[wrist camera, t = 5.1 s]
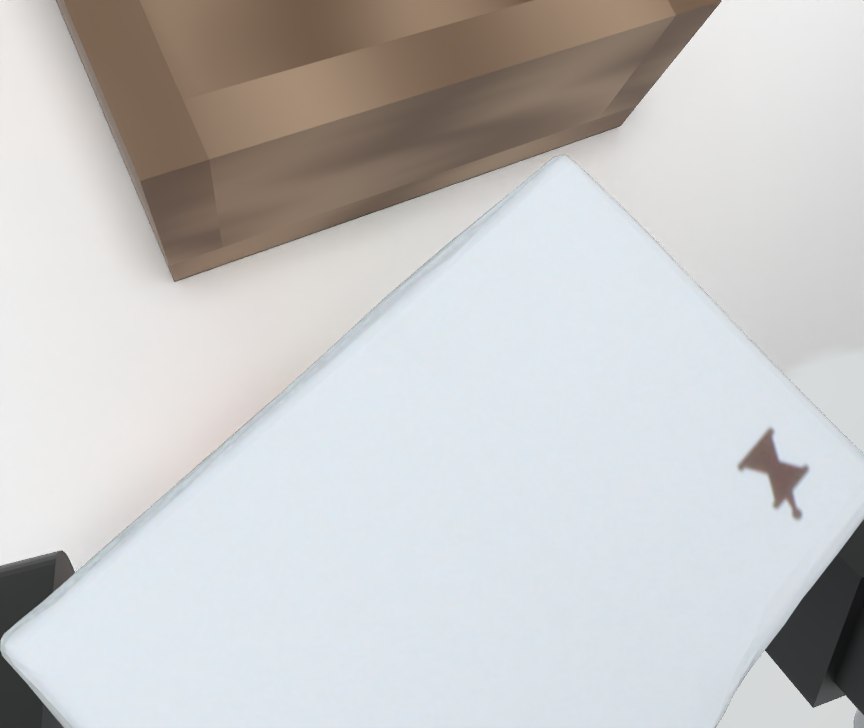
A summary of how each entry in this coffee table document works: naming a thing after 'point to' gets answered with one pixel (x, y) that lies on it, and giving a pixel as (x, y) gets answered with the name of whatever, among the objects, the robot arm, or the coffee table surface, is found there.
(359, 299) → the coffee table surface
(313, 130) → the brown wooden tray
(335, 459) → the skincare box
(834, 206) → the coffee table surface
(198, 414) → the coffee table surface
